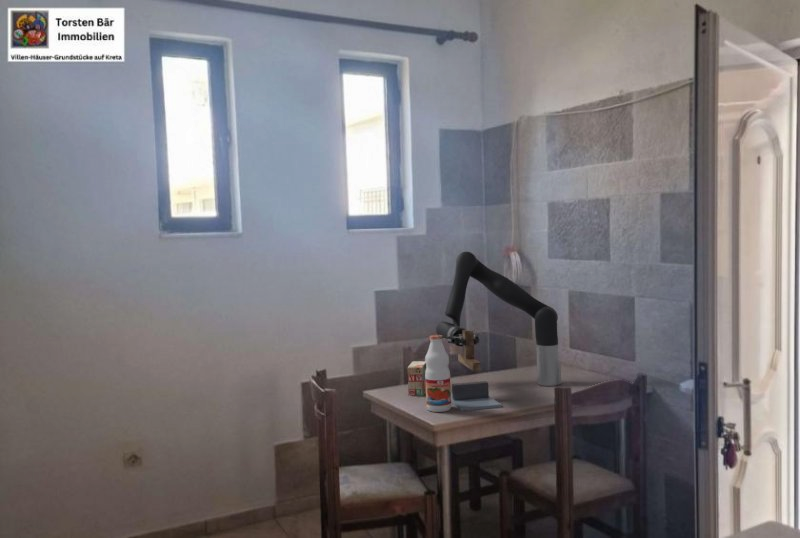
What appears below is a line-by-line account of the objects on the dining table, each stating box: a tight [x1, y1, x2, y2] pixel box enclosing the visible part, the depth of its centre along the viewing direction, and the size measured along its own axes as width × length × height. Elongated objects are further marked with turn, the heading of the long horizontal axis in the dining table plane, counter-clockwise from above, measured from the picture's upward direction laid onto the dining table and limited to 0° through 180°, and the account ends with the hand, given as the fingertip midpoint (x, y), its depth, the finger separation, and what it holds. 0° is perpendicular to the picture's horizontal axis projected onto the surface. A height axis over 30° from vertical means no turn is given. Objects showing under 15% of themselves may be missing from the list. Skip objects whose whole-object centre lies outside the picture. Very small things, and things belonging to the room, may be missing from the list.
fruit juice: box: [424, 334, 452, 413], centre depth 235 cm, size 9×9×28 cm
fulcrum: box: [451, 380, 502, 412], centre depth 246 cm, size 16×26×7 cm, turn 11°
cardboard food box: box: [407, 360, 427, 397], centre depth 268 cm, size 21×6×12 cm, turn 169°
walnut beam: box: [457, 329, 482, 372], centre depth 245 cm, size 4×20×14 cm, turn 11°
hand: (470, 342), depth 242 cm, fingers closed on walnut beam, 3 cm apart
